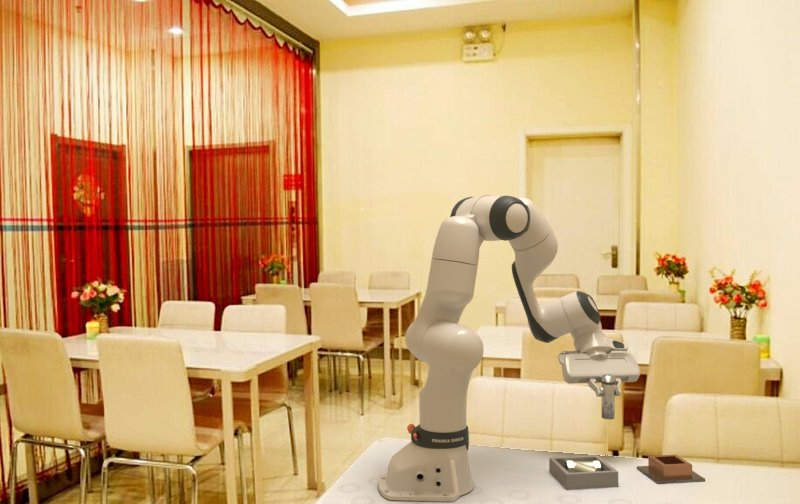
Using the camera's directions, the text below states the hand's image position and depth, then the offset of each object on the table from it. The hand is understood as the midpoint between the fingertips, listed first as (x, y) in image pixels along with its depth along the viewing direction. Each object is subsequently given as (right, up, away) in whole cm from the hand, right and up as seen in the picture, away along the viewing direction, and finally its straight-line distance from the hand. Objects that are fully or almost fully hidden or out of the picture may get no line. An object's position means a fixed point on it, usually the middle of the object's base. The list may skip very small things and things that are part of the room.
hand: (609, 395), depth 162 cm
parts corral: (-10, -18, -10) cm, 23 cm away
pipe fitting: (-9, -18, -9) cm, 22 cm away
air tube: (0, -6, +1) cm, 6 cm away
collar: (+12, -18, -8) cm, 23 cm away
